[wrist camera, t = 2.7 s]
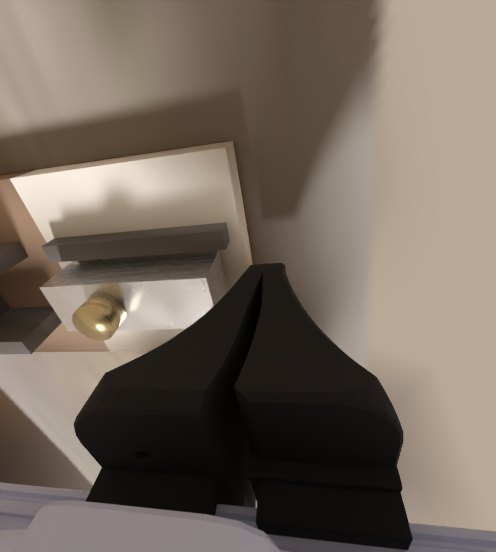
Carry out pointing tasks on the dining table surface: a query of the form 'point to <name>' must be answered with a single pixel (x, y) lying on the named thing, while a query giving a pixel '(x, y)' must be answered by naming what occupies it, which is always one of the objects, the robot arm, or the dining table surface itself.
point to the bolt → (136, 292)
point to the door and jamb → (112, 233)
